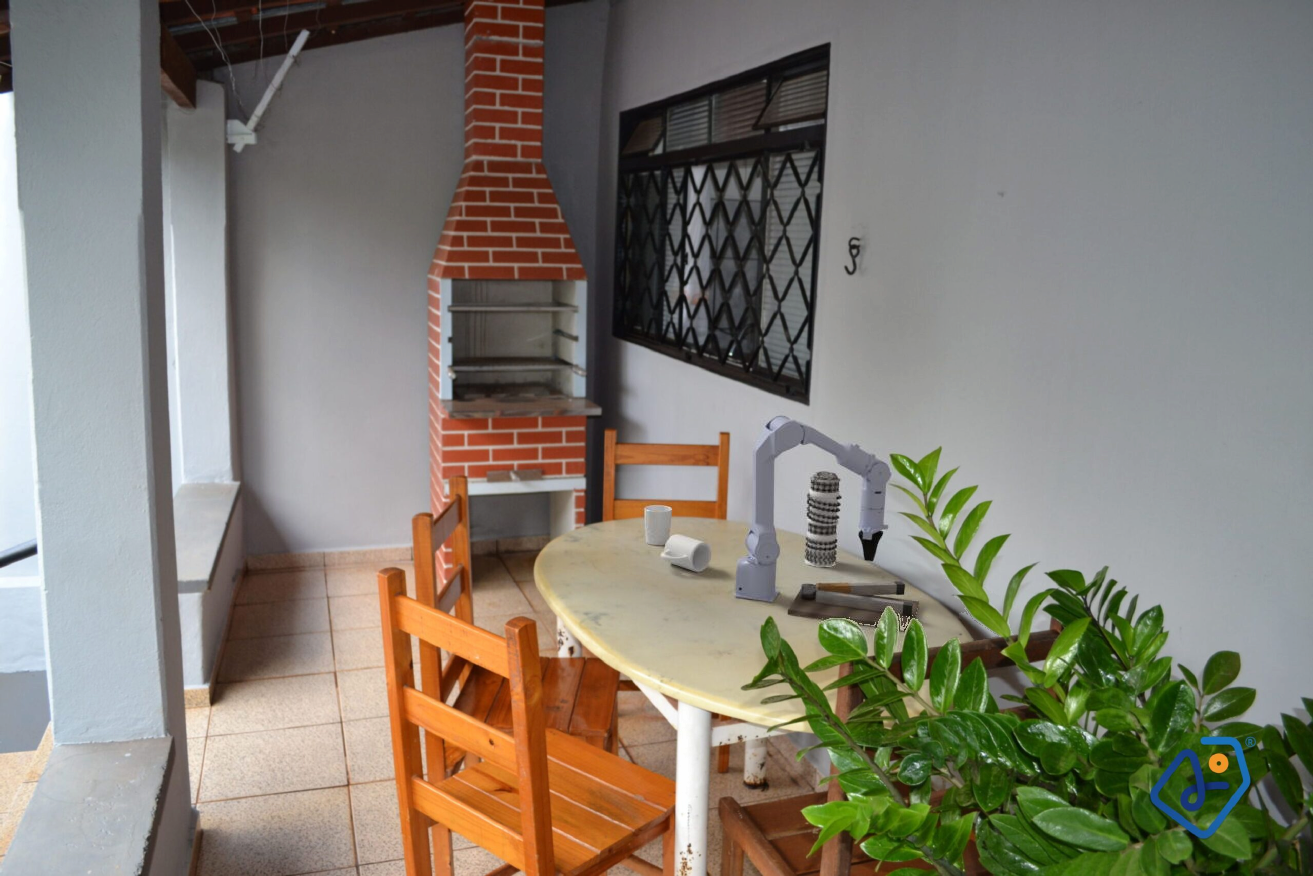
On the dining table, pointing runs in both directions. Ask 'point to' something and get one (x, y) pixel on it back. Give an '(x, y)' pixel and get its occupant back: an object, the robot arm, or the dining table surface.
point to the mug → (687, 553)
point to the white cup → (657, 524)
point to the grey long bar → (863, 602)
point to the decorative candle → (822, 519)
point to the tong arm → (853, 589)
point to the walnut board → (844, 611)
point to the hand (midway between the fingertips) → (869, 560)
